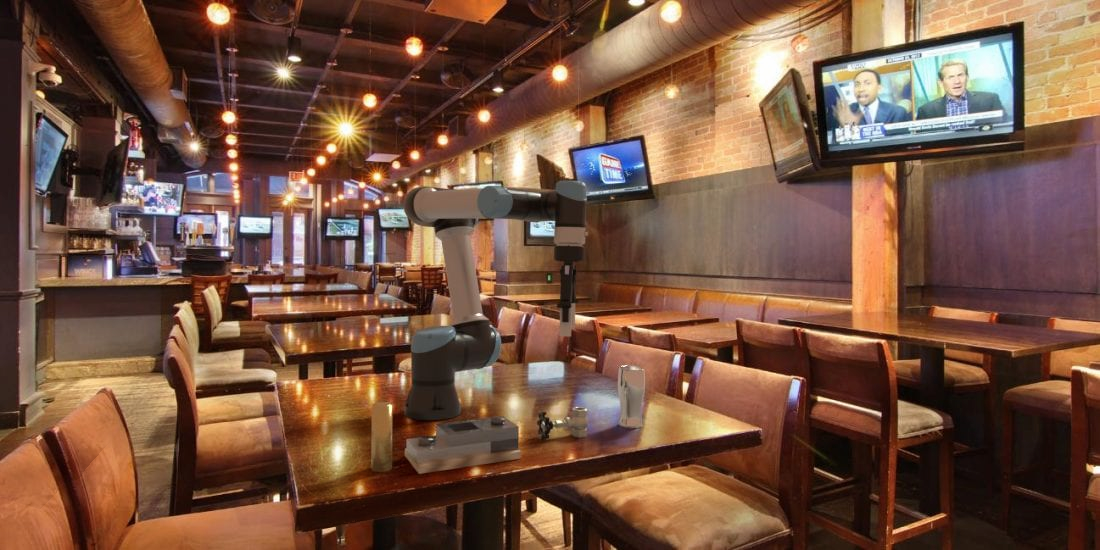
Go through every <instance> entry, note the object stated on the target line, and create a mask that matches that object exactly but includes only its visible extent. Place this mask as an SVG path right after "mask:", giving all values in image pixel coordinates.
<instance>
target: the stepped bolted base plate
mask: <svg viewBox="0 0 1100 550" xmlns="http://www.w3.org/2000/svg"><path fill="white" fill-rule="evenodd" d="M519 434H520V429H519V425H517V424H516V423H514V422H513V421H510V419H508V418H507V417H504V416H503V415H502V416H499V415H498V416H497V415H496V416H491V417H485V418H476V419H467V420H460V421H451V422H449V421H448V422H443V423H442V422H441V423H435V435H430V436H429V435H427V436H425V435H424V436H423V435H422V436H420V437H412V438H406V448H405V449H406V451H407V452H408V453H409V454H410V456H411V457H412V458H413V459H414V461H415V462H416V463H417V464H421V463H428V462H435V461H442V460H448V459H455V458H462V457H469V456H476V455H483V454H490V453H497V452H504V451H511V450H519V436H520V435H519Z"/></svg>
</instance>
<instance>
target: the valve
mask: <svg viewBox="0 0 1100 550" xmlns="http://www.w3.org/2000/svg"><path fill="white" fill-rule="evenodd" d="M587 414H588V410H587V408H586V407H583V406H576V407H575V406H574V407H573V408H572V417H570V416H565V417H563V420H561V419H557V420H555V421H554V422H553V421H552V420H550V417H549V416H546V415H547V412H546V411H541V412H540V413H537V417H538V419H539V420H536V424H537V426H538V430H537V433H538V435H540V439H541V440H542V441H543V440H547V439H550V433H551V431H552V430H553V428H555V429H562V428H564V429H565V430H566V431H567V430H569V431H570V430H571V434H572V435H571V436H572V437H573V438H574V437H575V438H586V437H587V428H588V425H589V418H588V417H587Z"/></svg>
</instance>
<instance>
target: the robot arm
mask: <svg viewBox="0 0 1100 550" xmlns="http://www.w3.org/2000/svg"><path fill="white" fill-rule="evenodd" d="M587 203H588V198H587V186H586V184H585V182H583V181H579V180H560V181H557V182H556V184H555V188H554V190H553V191H552V190H551V191H537V190H531V189H530V190H529V189H520V188H513V187H512V188H511V187H507V186H506V187H505V186H502V185H487V186H486V185H485V186H484V187H483V188H482V187H479V188H462V189H458V188H453V189H452V188H443V187H435V186H434V187H433V186H427V185H425V186H423V185H422V186H416V187H415V188H412V189H410V191H409V192H407V194H406V195H405V196H404V200H403V211H404V213H405V214H404V215H406V217H407V219H409V220H410V221H411V222H412V223H414V224H415V225H418V226H421V227H427V228H433V229H434V235H435V237H436V238H437V239H438V240H440V241H441V246H442V254H443V258H444V259H443V260H444V265H445V273H446V274H445V275H446V279H447V285H448V292H449V298H450V305H451V311H452V312H451V313H452V316H453V317H452V319H453V320H452V321H451V323H450V324H449V325H437V326H436V325H434V326H429V327H424V328H420V329H418V330H417V331H415V332H413V334H412V337H411V344H410V352H411V355H410V356H411V357H410V358H411V359H410V361H411V364H410V365H411V366H410V367H411V369H410V372H411V373H410V375H411V376H410V381H411V382H410V383H411V384H410V389H409V391H408V395H407V398H406V401H405V404H404V409H403V411H404V413H403V415H404V416H405V417H406V418H408V419H411V420H416V421H417V420H418V421H440V420H446V419H447V420H448V419H452V418H456V417H457V416H459V415H460V414H461V411H462V410H461V409H462V408H461V406H462V405H461V402H460V398H459V395H458V392H457V388H456V386H455V385H456V384H455V377H456V376H455V375H456V374H455V373H458V372H465V371H473V370H480V369H484V368H488V367H491V366H492V365H494V364H495V363H496V362H497V360H498V358H499V356H500V354H501V351H502V337H501V335H500V333H499V331H497V329H496V328H494V327H493V326H491V323H490V319H489V318H488V317H486V316H485V314H483V307H482V302H481V301H482V300H481V295H480V290H479V289H480V288H479V282H478V277H477V271H476V265H475V264H476V263H475V258H474V252H473V251H474V250H473V247H472V239H471V236H472V234H473V233H474V232H475V227H476V226H477V223H478V222H479V219H484V220H485V219H493V220H495V219H496V220H498V219H499V220H503V219H504V220H517V221H524V222H530V223H541V222H554V233H553V236H554V237H553V243H554V244H556V245H555V246H554V247H553V260H554V261H555V262H563V265H561V267H560V268H561V269H560V270H559V271H560V273H559V274H560V280H559V281H560V293H559V303H556V308H557V309H559V326H558V327H559V328H558V329H559V334H558V335H559V337H572V330H575V329H576V328H575V327H576V304H578V303H579V299H578V298H577V296H576V295H577V294H576V289H577V288H576V285H577V280H578V279H577V277H578V269H577V265H576V264H575V262H576V263H583V262H585V259H586V247H585V246H583V245H585V244H586V236H587V237H588V236H589V232H588V231H586V227H587V226H586V219H587V218H586V215H587Z"/></svg>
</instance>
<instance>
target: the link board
mask: <svg viewBox="0 0 1100 550" xmlns="http://www.w3.org/2000/svg"><path fill="white" fill-rule="evenodd" d="M404 457H405V458H406V459H407V461H409V463H410V464H411V466H412V467H413V468H414V469H415V471H416V472H417V473H418V475H422V474H426V473H434V472H441V471H447V470H454V469H460V468H466V467H473V466H481V465H487V464H493V463H501V462H506V461H513V460H519V459H522V451H521V450H520V449H518V450H511V451H504V452H497V453H490V454H483V455H476V456H469V457H462V458H455V459H448V460H442V461H435V462H428V463H421V464H417V463H416V462H415V461H414V459H413V458H412V457H411V456H410V454H409V453H408V452H407V451H406V448H404Z"/></svg>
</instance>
